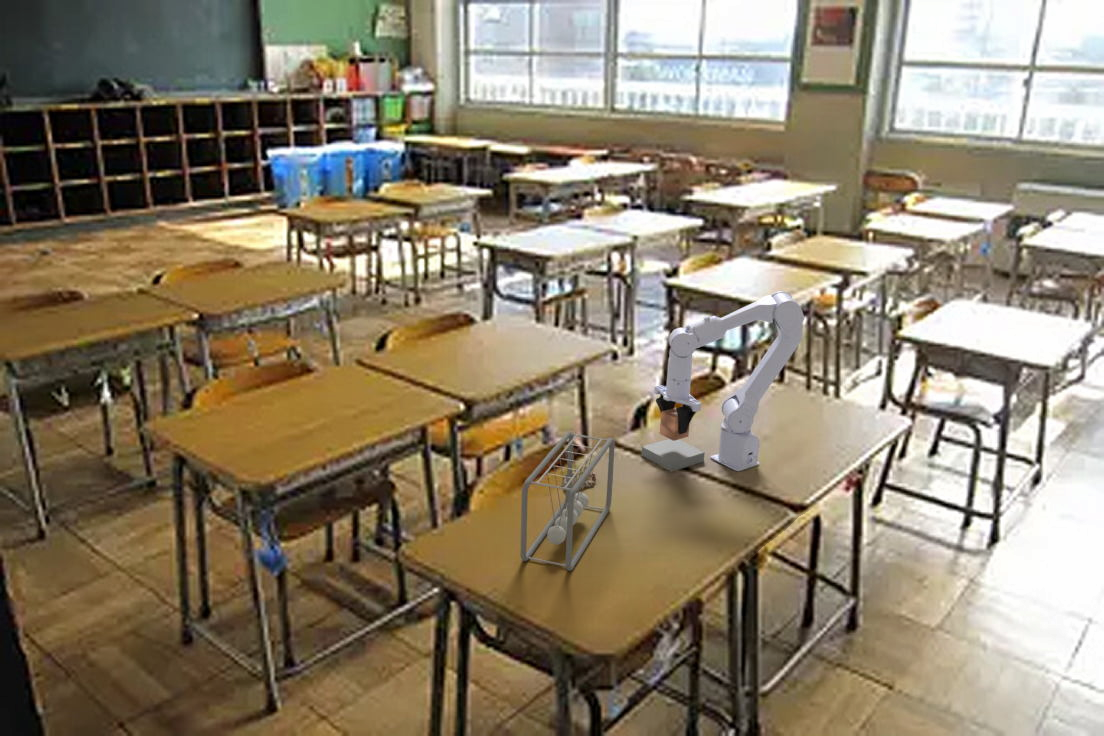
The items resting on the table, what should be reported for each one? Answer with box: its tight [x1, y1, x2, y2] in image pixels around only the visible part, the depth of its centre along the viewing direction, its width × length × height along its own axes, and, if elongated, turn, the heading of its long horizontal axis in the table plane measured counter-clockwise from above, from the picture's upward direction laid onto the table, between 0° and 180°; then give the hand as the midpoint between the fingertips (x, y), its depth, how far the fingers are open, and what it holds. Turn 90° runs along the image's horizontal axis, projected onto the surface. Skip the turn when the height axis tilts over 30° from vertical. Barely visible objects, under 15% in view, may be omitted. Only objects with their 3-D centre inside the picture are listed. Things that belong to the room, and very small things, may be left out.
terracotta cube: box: [659, 407, 690, 441], centre depth 230 cm, size 5×5×6 cm
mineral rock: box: [560, 466, 597, 491], centre depth 218 cm, size 11×4×8 cm
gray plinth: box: [641, 438, 705, 472], centre depth 232 cm, size 11×11×2 cm
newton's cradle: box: [520, 430, 616, 572], centre depth 192 cm, size 30×10×18 cm, turn 161°
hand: (674, 429), depth 230 cm, fingers closed on terracotta cube, 5 cm apart
